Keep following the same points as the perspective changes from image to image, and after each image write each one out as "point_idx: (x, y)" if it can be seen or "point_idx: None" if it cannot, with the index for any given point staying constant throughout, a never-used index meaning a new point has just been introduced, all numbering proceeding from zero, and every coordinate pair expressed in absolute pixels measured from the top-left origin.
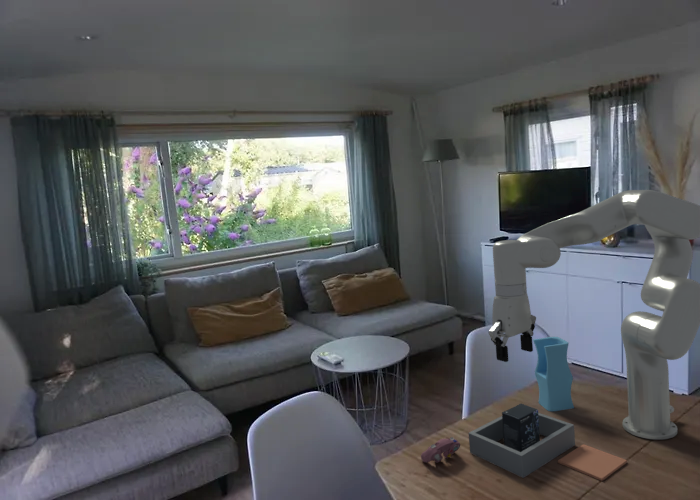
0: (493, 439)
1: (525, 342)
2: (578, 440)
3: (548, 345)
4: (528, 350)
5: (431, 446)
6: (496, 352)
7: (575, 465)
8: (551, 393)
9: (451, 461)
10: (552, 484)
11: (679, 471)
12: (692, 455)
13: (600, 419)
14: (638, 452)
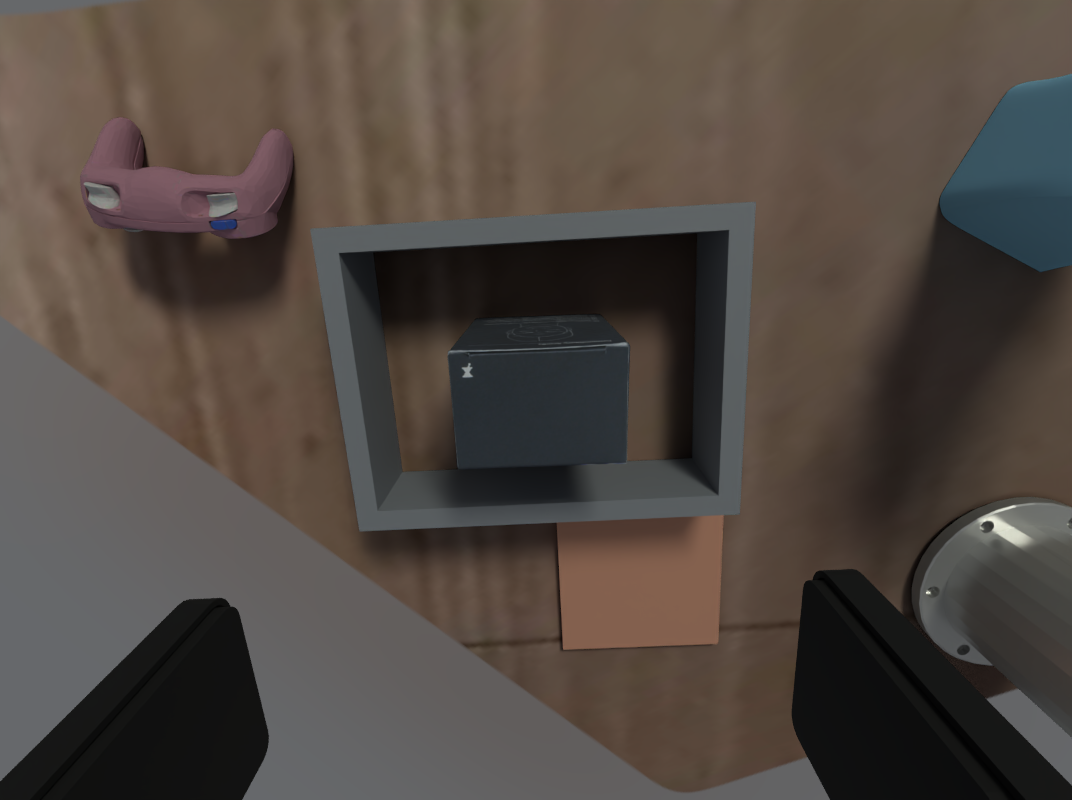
0: (484, 245)
1: (882, 783)
2: (751, 461)
3: None
4: (801, 701)
5: (87, 186)
6: (101, 689)
7: (570, 564)
8: (1037, 205)
9: None
10: (434, 566)
11: (766, 740)
12: None
13: (983, 419)
14: None
